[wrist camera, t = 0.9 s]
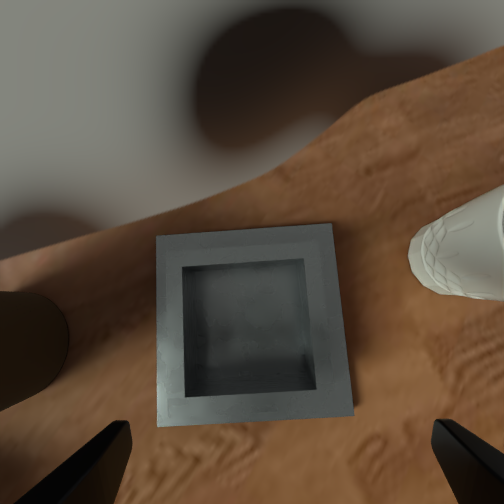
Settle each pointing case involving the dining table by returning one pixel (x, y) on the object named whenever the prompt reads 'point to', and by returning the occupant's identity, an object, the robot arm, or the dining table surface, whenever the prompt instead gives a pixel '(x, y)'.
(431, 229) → the white cup
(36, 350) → the olive oil
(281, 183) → the dining table surface
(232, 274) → the square open box
